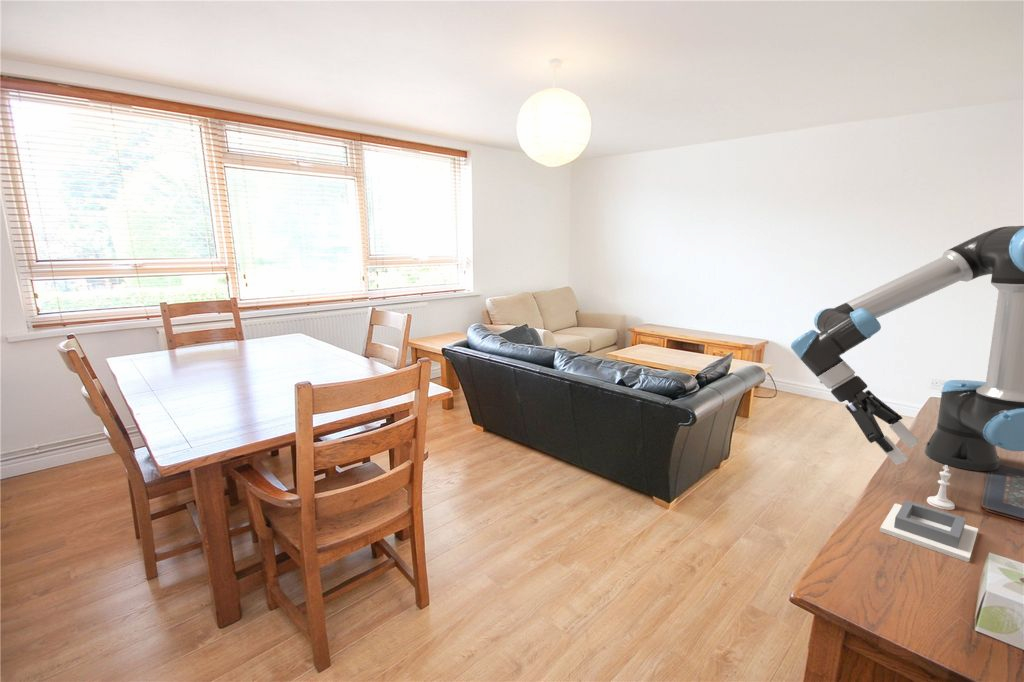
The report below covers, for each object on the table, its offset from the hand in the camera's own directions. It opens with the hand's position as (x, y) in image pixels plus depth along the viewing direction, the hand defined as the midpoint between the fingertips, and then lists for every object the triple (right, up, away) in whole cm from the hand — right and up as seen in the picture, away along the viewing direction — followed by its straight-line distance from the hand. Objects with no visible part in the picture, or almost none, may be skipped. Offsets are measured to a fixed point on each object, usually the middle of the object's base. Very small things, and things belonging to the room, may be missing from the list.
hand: (909, 453), depth 112 cm
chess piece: (+5, -12, -2) cm, 13 cm away
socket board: (-7, -14, -13) cm, 20 cm away
